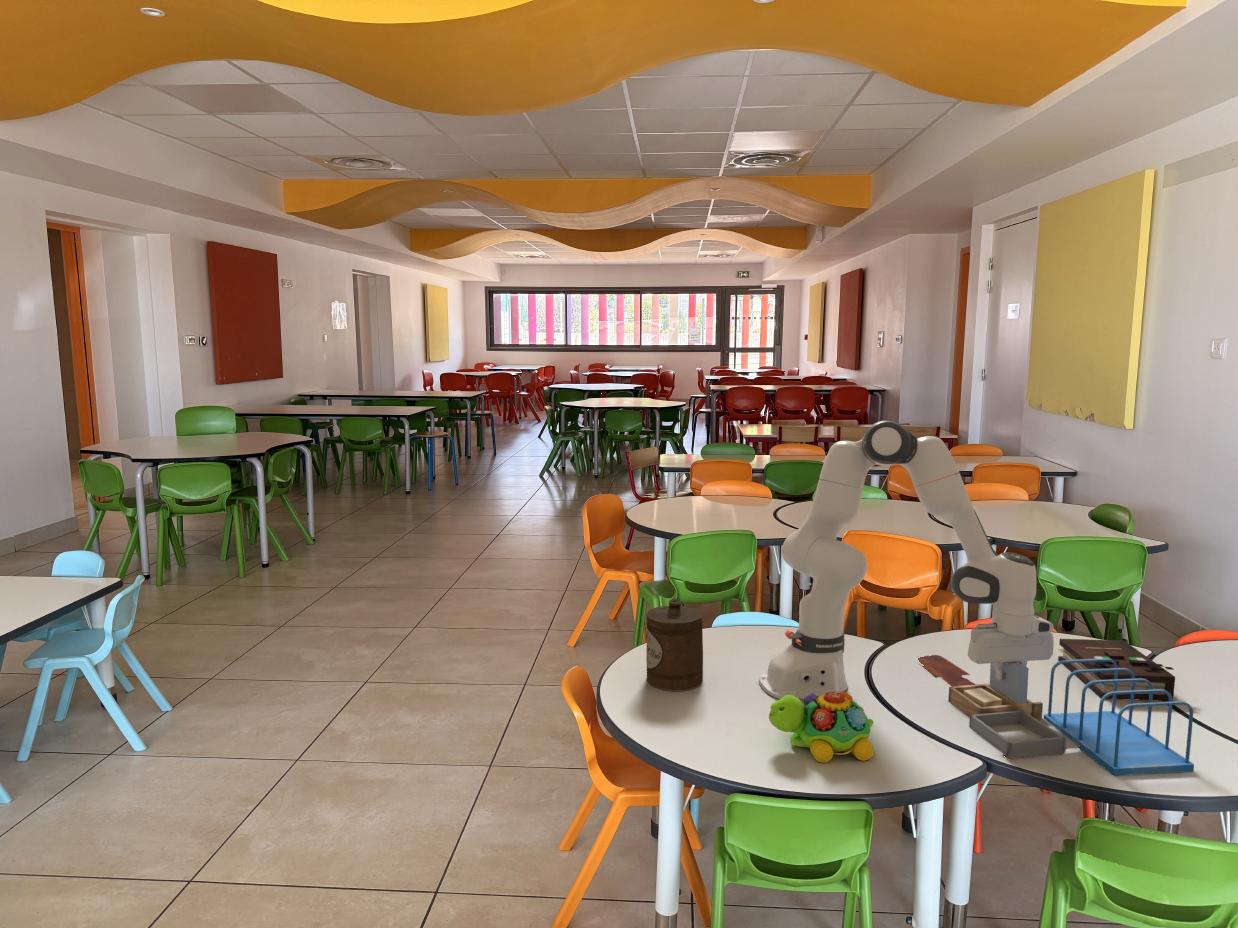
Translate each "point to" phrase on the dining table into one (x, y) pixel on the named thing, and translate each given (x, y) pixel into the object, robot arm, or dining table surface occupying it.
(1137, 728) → the file sorter
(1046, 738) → the tray
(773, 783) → the dining table surface
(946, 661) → the wooden tablet
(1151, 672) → the decorative book
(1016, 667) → the grey square block
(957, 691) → the divided wooden box
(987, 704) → the offcut slab upper
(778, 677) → the robot arm
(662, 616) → the wooden container
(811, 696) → the turtle toy
